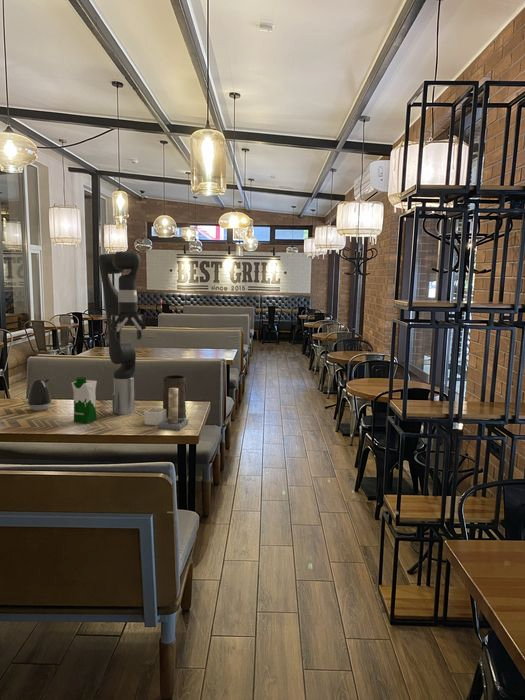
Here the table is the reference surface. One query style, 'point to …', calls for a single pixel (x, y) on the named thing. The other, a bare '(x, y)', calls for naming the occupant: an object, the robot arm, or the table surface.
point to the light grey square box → (154, 416)
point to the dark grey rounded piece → (39, 395)
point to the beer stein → (179, 383)
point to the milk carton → (84, 400)
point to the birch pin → (173, 406)
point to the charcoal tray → (165, 425)
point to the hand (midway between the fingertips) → (128, 340)
